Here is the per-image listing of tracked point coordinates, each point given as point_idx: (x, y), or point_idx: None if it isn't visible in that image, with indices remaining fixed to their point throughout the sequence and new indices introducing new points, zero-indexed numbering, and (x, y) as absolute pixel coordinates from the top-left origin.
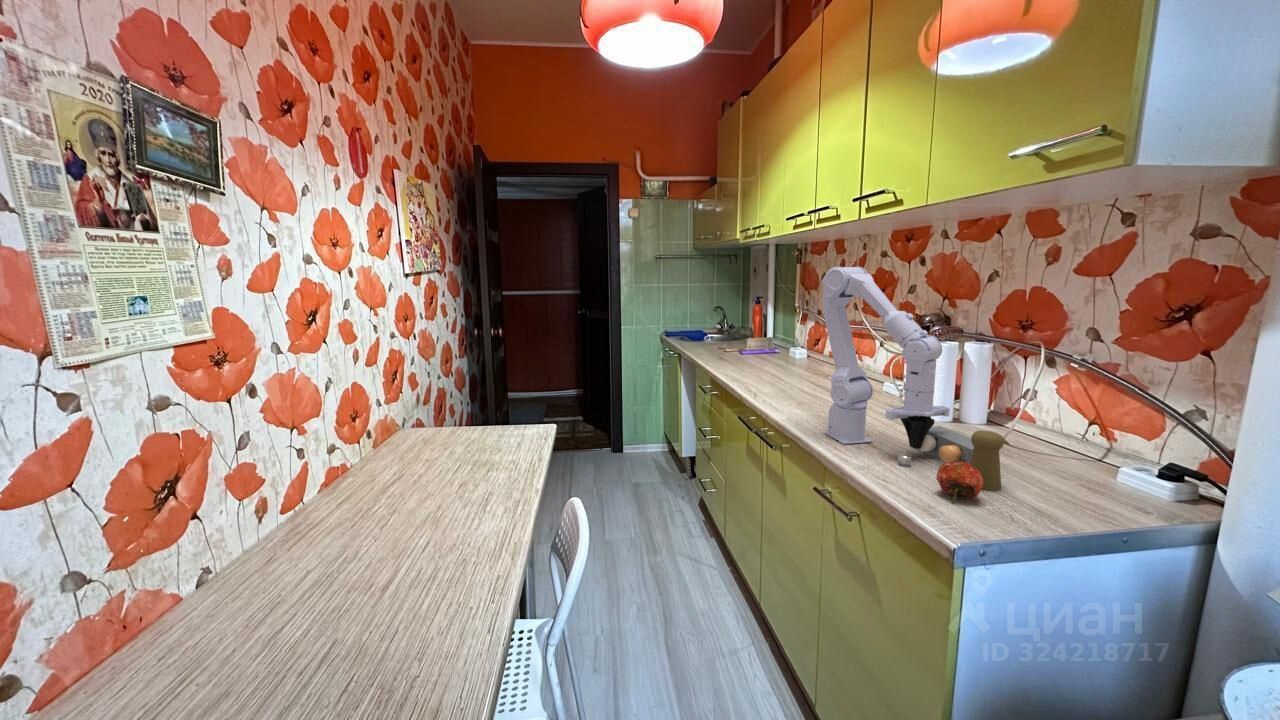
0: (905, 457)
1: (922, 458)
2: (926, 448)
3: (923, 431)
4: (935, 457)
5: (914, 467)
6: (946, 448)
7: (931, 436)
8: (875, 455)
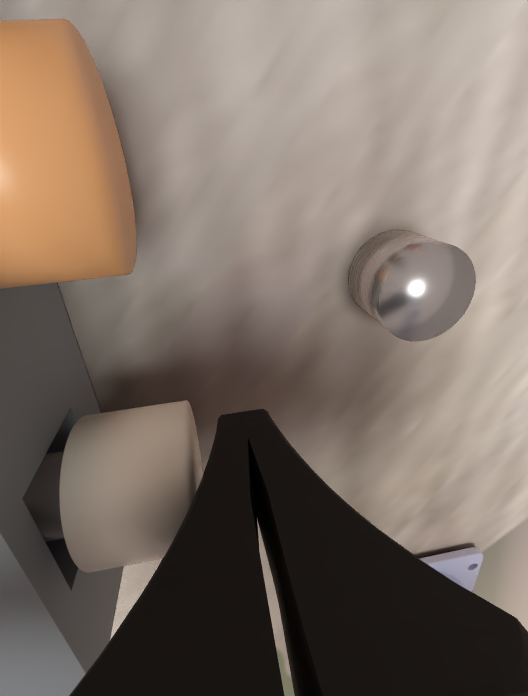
0: (455, 254)
1: (190, 376)
2: (178, 403)
3: (245, 546)
4: (89, 382)
5: (356, 215)
6: (76, 140)
7: (77, 538)
8: (438, 425)
